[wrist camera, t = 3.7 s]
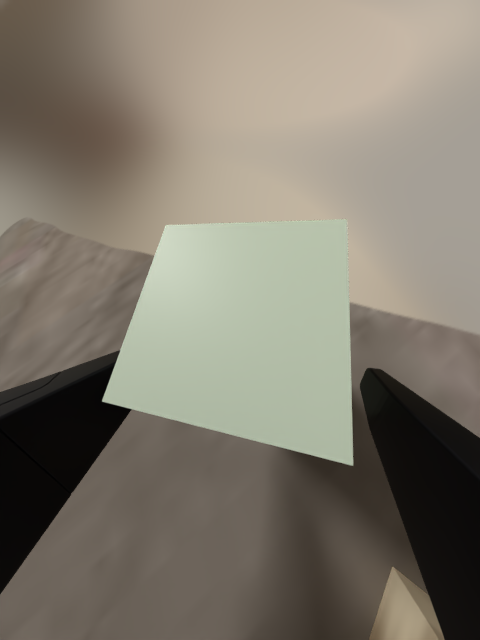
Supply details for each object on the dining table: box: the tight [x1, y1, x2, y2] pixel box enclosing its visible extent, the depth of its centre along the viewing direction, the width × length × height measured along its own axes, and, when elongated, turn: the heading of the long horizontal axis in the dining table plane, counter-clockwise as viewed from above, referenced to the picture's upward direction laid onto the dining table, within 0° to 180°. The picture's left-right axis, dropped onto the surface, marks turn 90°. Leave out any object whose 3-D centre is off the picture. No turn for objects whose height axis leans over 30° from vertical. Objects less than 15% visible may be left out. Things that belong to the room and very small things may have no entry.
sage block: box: [102, 219, 353, 466], centre depth 10 cm, size 5×5×13 cm
